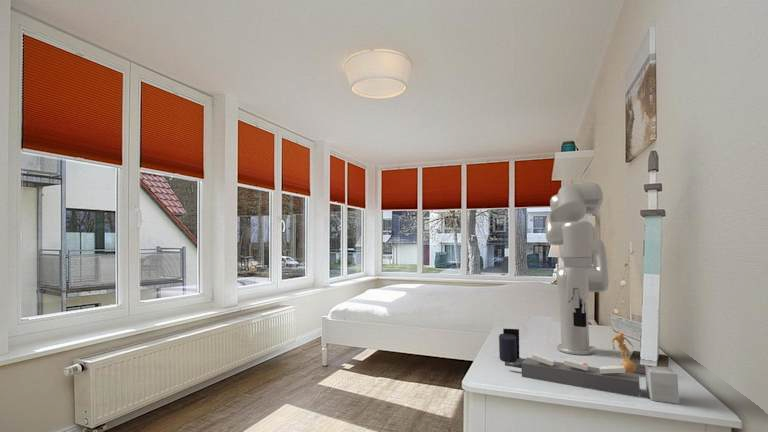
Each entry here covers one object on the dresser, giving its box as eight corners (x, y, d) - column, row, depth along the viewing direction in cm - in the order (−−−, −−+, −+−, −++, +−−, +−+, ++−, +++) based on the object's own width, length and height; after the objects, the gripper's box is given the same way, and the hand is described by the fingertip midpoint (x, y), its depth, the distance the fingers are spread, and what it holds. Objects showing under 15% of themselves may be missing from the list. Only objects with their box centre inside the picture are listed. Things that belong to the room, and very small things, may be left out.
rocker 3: (601, 370, 112) (600, 366, 112) (625, 369, 109) (624, 365, 109) (600, 373, 109) (599, 369, 110) (625, 372, 106) (623, 368, 107)
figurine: (624, 376, 119) (622, 336, 120) (607, 370, 125) (605, 332, 126) (644, 373, 122) (642, 334, 123) (626, 368, 128) (624, 330, 129)
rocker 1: (534, 356, 122) (534, 352, 122) (554, 363, 119) (555, 359, 119) (531, 358, 120) (532, 354, 120) (552, 366, 116) (553, 362, 116)
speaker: (503, 354, 143) (503, 326, 143) (519, 357, 140) (519, 328, 140) (496, 361, 137) (496, 332, 137) (513, 365, 134) (513, 335, 133)
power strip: (508, 367, 130) (508, 353, 130) (639, 388, 110) (638, 372, 110) (502, 373, 124) (501, 358, 124) (639, 397, 104) (638, 380, 104)
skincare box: (679, 404, 99) (678, 374, 100) (651, 400, 101) (649, 371, 102) (673, 395, 105) (671, 367, 105) (645, 392, 107) (644, 364, 107)
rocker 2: (565, 361, 117) (566, 357, 117) (588, 368, 114) (589, 363, 114) (564, 364, 115) (564, 359, 115) (587, 370, 111) (587, 366, 111)
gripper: (568, 261, 125) (570, 320, 124) (559, 264, 113) (561, 330, 112) (594, 261, 121) (597, 322, 120) (588, 265, 109) (591, 333, 108)
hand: (580, 326), depth 116 cm, fingers closed
